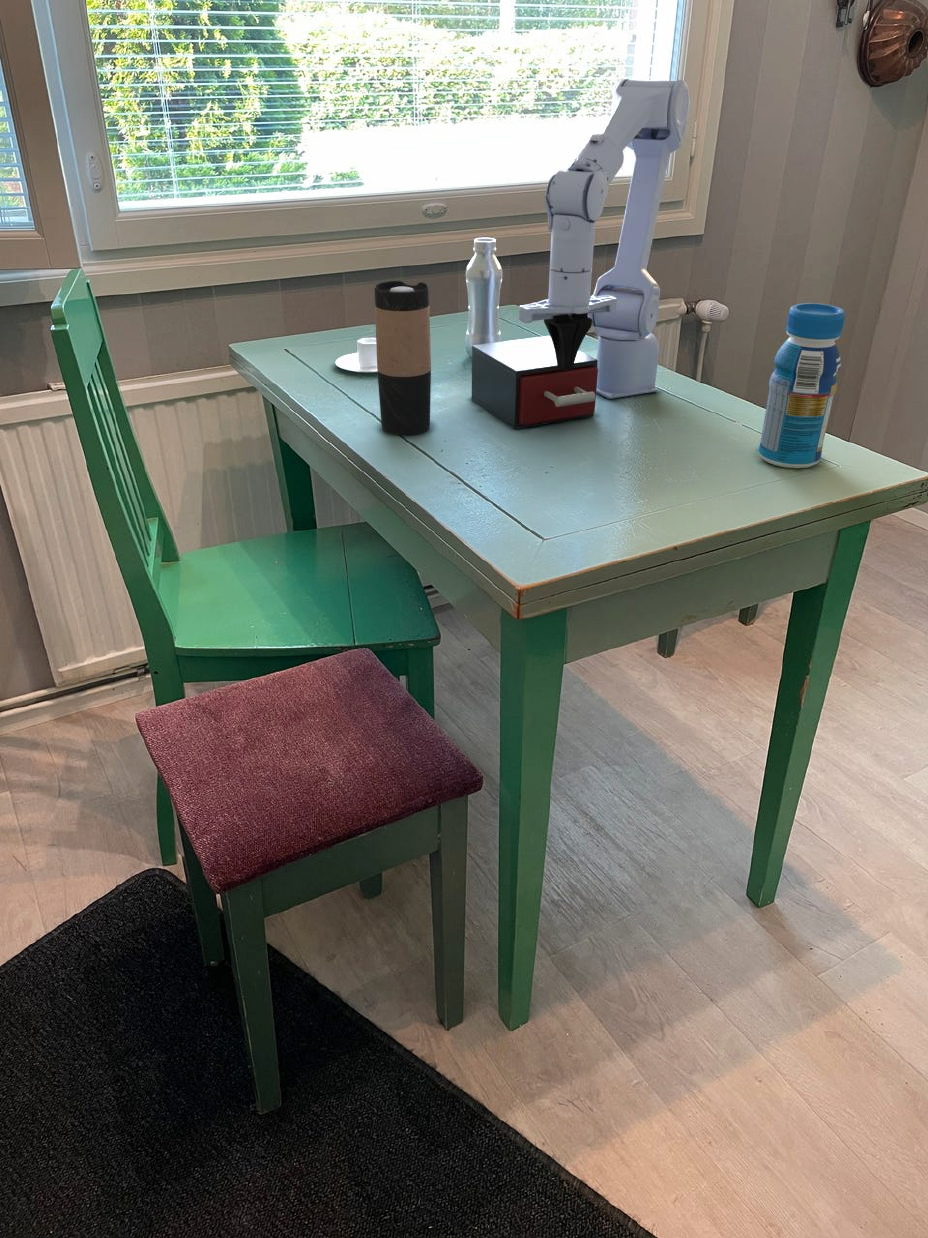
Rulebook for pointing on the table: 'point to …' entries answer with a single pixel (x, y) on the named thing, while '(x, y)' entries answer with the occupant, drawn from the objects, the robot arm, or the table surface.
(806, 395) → the beverage bottle
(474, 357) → the charcoal grey case
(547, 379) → the drawer
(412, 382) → the travel mug
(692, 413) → the table surface
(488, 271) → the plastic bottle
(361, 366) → the candle holder
